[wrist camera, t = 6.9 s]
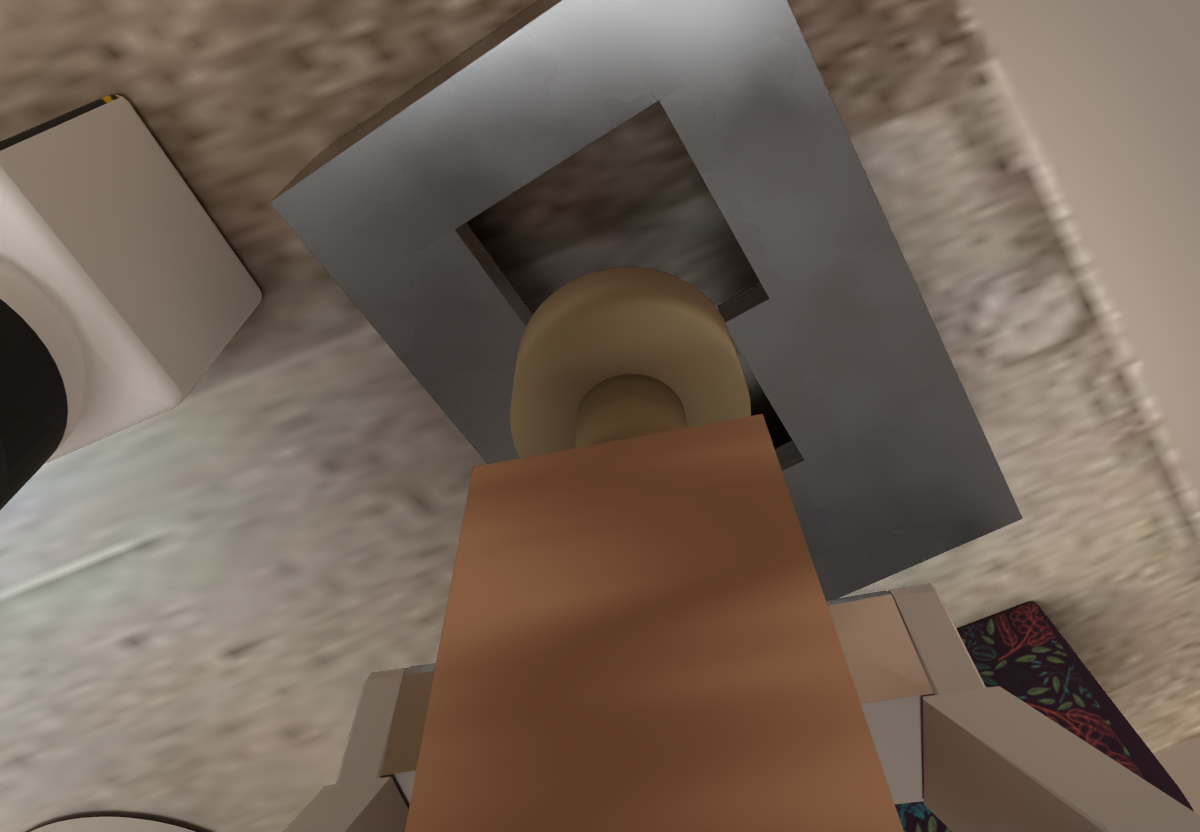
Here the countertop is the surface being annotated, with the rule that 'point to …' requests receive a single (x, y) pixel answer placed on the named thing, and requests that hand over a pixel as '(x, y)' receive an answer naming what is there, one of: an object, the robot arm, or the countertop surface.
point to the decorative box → (1048, 697)
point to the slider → (639, 600)
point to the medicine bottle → (102, 286)
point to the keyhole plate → (754, 214)
